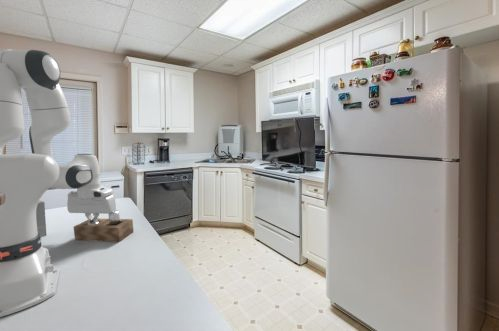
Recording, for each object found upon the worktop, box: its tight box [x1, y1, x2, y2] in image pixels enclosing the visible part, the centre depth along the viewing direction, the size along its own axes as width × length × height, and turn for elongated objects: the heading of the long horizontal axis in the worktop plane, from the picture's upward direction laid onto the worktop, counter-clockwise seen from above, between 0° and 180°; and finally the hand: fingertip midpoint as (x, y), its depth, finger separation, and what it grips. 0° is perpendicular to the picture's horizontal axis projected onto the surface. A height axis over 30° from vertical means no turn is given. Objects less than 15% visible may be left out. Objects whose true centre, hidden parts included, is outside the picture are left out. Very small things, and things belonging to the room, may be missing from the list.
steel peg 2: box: [107, 209, 121, 225], centre depth 108 cm, size 4×4×6 cm
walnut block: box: [73, 218, 134, 243], centre depth 109 cm, size 20×10×6 cm, turn 84°
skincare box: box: [36, 199, 48, 238], centre depth 110 cm, size 8×7×16 cm
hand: (93, 222), depth 109 cm, fingers closed, pressing on steel peg 1
